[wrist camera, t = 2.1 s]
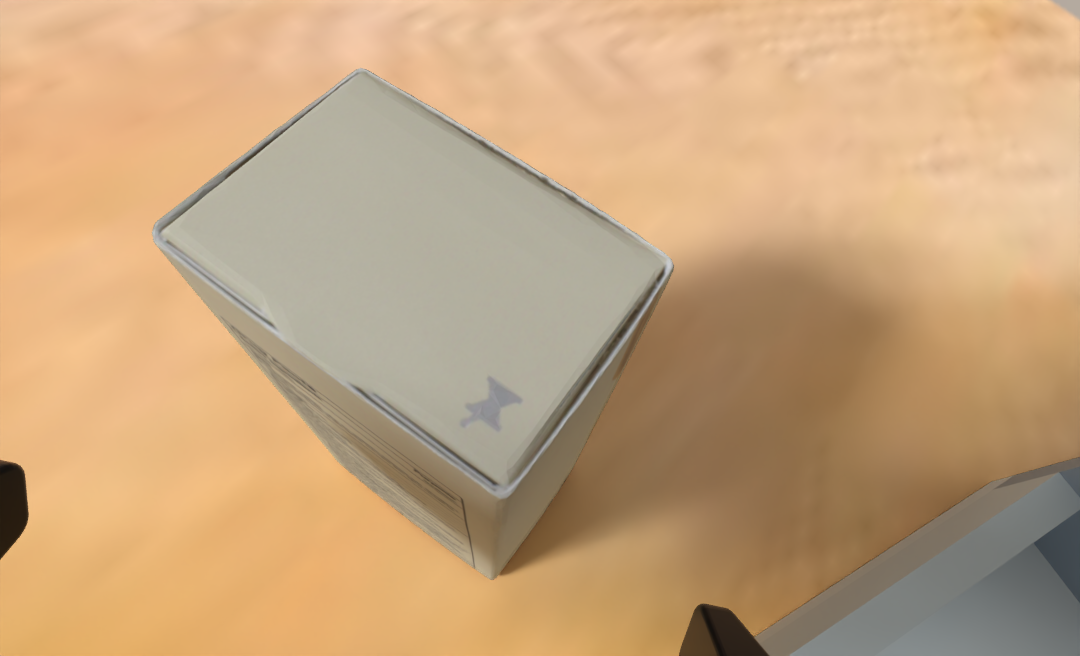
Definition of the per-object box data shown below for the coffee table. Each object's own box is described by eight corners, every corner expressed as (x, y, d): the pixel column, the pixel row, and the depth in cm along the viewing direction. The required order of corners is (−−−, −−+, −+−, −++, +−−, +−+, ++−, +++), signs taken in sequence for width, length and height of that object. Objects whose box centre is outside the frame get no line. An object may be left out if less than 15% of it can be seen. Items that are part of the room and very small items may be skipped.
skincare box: (576, 465, 20) (708, 267, 9) (492, 587, 18) (526, 525, 7) (416, 349, 21) (359, 46, 10) (322, 453, 19) (130, 224, 8)
